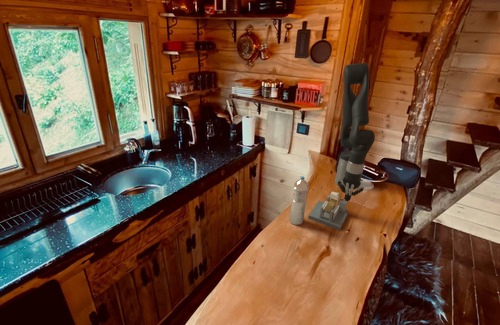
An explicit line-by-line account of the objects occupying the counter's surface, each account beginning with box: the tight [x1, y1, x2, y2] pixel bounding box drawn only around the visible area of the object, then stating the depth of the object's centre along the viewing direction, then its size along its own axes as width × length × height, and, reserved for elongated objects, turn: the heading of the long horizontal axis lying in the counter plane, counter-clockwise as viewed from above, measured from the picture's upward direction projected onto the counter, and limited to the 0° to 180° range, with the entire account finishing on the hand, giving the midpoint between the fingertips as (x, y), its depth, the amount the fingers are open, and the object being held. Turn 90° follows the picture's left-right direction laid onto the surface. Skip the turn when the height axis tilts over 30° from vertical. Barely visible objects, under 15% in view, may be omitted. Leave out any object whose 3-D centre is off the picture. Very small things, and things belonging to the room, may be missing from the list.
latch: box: [329, 191, 341, 201], centre depth 141 cm, size 3×4×3 cm
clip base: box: [307, 194, 350, 231], centre depth 138 cm, size 16×16×8 cm
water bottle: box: [289, 175, 310, 226], centre depth 130 cm, size 7×7×25 cm
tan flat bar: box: [324, 198, 338, 213], centre depth 138 cm, size 14×3×1 cm, turn 148°
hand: (347, 200), depth 138 cm, fingers closed
